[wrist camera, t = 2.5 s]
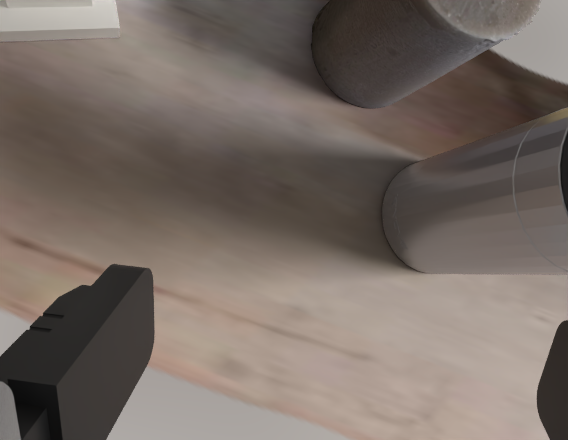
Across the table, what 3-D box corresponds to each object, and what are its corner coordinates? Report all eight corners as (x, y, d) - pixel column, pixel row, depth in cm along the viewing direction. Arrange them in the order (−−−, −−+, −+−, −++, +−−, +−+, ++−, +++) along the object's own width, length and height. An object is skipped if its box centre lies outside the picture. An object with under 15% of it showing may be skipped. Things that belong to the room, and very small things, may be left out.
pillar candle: (290, 12, 40) (388, -126, 26) (389, -21, 43) (525, -161, 29) (342, 128, 41) (465, 54, 27) (436, 87, 44) (591, 1, 30)
